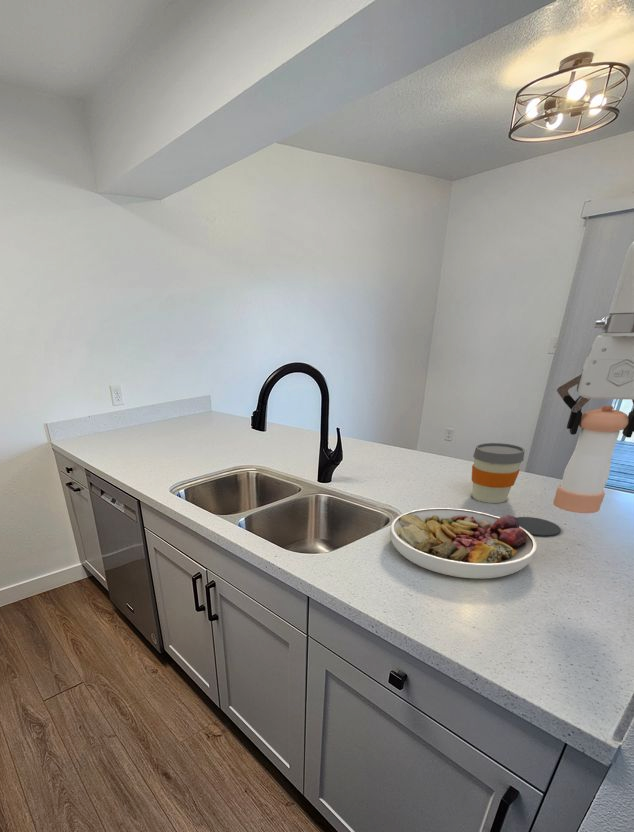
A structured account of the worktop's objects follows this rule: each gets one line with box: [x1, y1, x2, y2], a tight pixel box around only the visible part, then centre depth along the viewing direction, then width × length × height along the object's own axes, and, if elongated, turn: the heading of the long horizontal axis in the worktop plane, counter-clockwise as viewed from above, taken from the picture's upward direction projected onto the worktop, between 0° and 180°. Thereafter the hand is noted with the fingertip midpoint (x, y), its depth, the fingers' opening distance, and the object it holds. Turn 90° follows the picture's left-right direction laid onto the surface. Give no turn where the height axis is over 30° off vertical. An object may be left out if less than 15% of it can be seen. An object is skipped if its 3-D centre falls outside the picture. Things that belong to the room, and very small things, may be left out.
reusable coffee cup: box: [471, 442, 526, 504], centre depth 127 cm, size 13×13×15 cm
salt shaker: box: [552, 404, 629, 514], centre depth 81 cm, size 7×7×19 cm
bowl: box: [389, 507, 538, 580], centre depth 101 cm, size 30×30×8 cm
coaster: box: [516, 516, 561, 537], centre depth 111 cm, size 11×11×1 cm
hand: (599, 433), depth 78 cm, fingers closed on salt shaker, 7 cm apart
